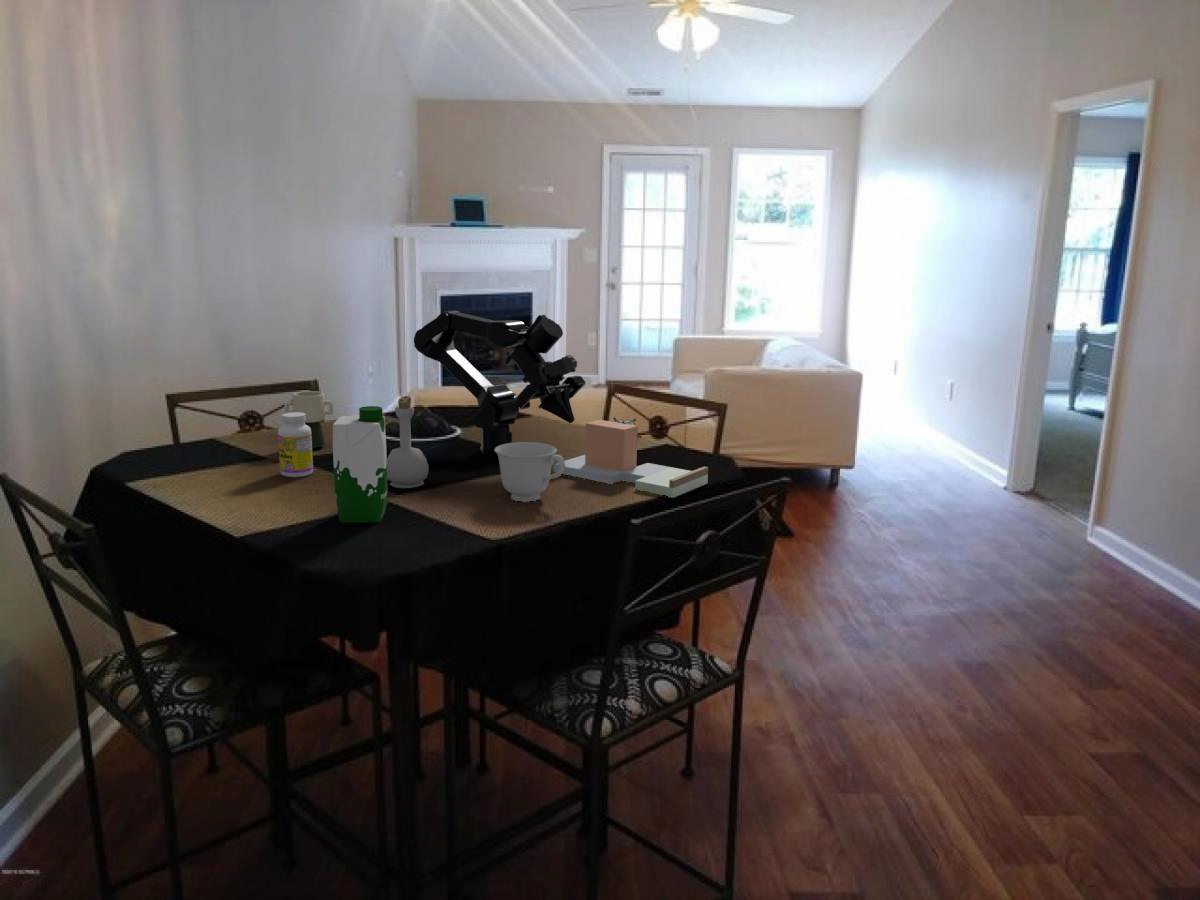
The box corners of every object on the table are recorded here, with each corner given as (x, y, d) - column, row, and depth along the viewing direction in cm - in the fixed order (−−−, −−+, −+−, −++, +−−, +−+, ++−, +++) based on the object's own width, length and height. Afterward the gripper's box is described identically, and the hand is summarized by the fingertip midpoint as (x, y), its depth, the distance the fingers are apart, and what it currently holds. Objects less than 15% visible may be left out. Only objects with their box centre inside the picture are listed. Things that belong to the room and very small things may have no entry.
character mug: (335, 443, 224) (333, 390, 221) (334, 450, 217) (331, 395, 214) (288, 445, 221) (285, 391, 218) (285, 452, 215) (282, 396, 212)
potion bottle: (436, 480, 193) (434, 395, 189) (414, 491, 185) (411, 402, 181) (399, 476, 196) (396, 392, 192) (376, 487, 188) (372, 399, 184)
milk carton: (384, 524, 165) (380, 413, 160) (332, 524, 164) (327, 412, 159) (391, 509, 173) (387, 403, 168) (341, 509, 172) (336, 403, 168)
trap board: (553, 473, 201) (553, 457, 200) (591, 461, 212) (591, 446, 211) (673, 497, 184) (673, 480, 183) (707, 483, 195) (708, 467, 195)
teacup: (545, 513, 172) (545, 461, 170) (482, 500, 180) (481, 450, 178) (580, 498, 182) (581, 449, 180) (519, 486, 190) (519, 439, 188)
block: (585, 463, 201) (585, 423, 199) (598, 459, 205) (599, 419, 203) (623, 471, 196) (624, 429, 194) (636, 466, 200) (637, 425, 198)
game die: (628, 464, 225) (651, 430, 225) (626, 460, 216) (650, 425, 217) (598, 444, 226) (621, 410, 227) (594, 439, 218) (619, 404, 218)
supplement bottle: (274, 473, 196) (270, 413, 193) (303, 468, 201) (299, 409, 198) (290, 479, 192) (287, 418, 189) (319, 474, 196) (316, 414, 193)
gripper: (526, 347, 196) (567, 405, 193) (579, 340, 211) (618, 393, 207) (498, 380, 202) (537, 437, 199) (551, 371, 217) (589, 423, 214)
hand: (572, 421), depth 205 cm, fingers closed
